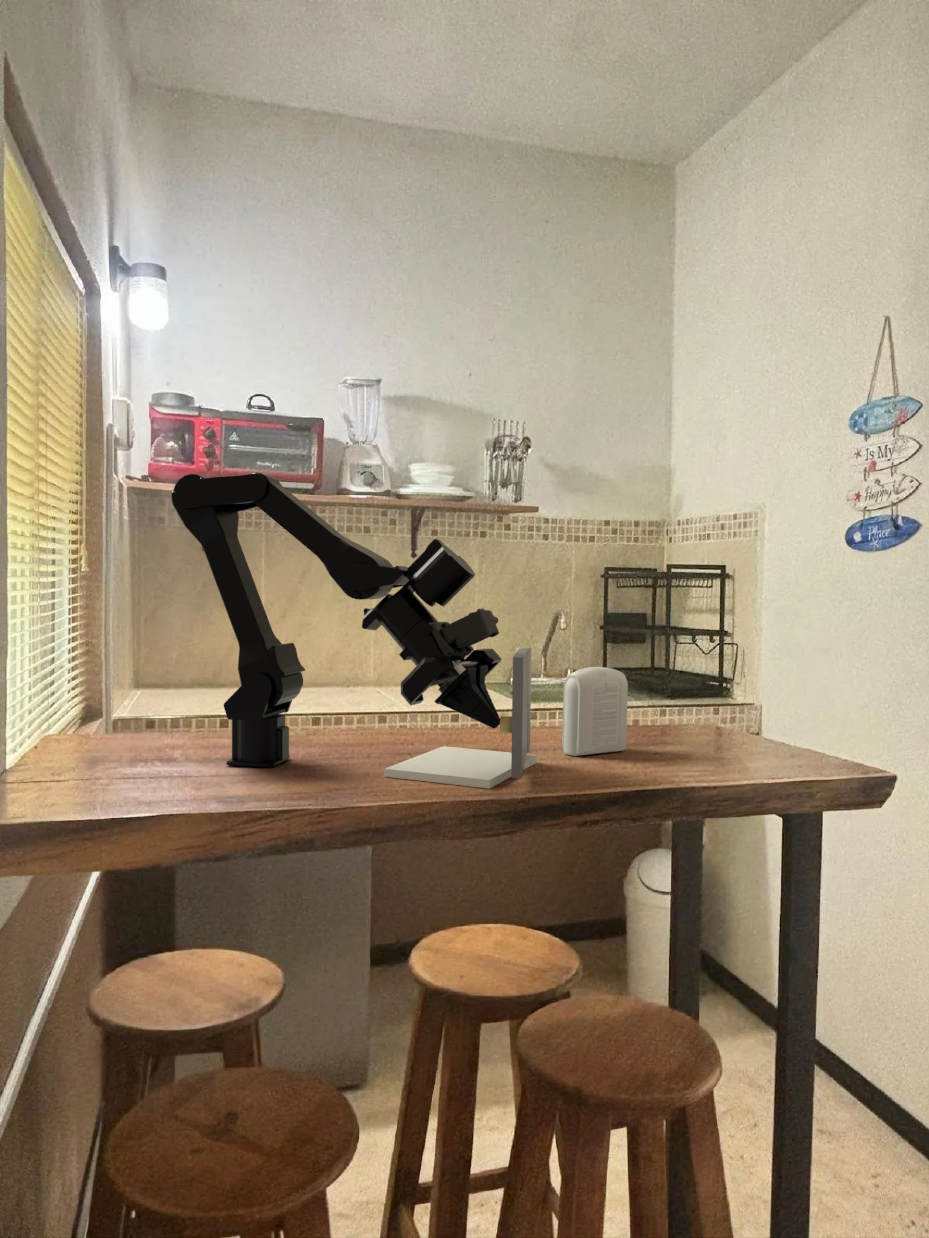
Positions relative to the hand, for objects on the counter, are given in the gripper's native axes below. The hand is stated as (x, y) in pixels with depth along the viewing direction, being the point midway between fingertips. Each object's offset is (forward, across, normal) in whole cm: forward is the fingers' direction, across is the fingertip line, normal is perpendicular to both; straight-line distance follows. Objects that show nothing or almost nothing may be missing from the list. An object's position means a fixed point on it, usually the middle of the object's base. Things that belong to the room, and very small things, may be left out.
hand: (498, 725), depth 103 cm
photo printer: (+9, +24, +1) cm, 26 cm away
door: (+4, +5, +3) cm, 7 cm away
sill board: (0, +5, +9) cm, 11 cm away
